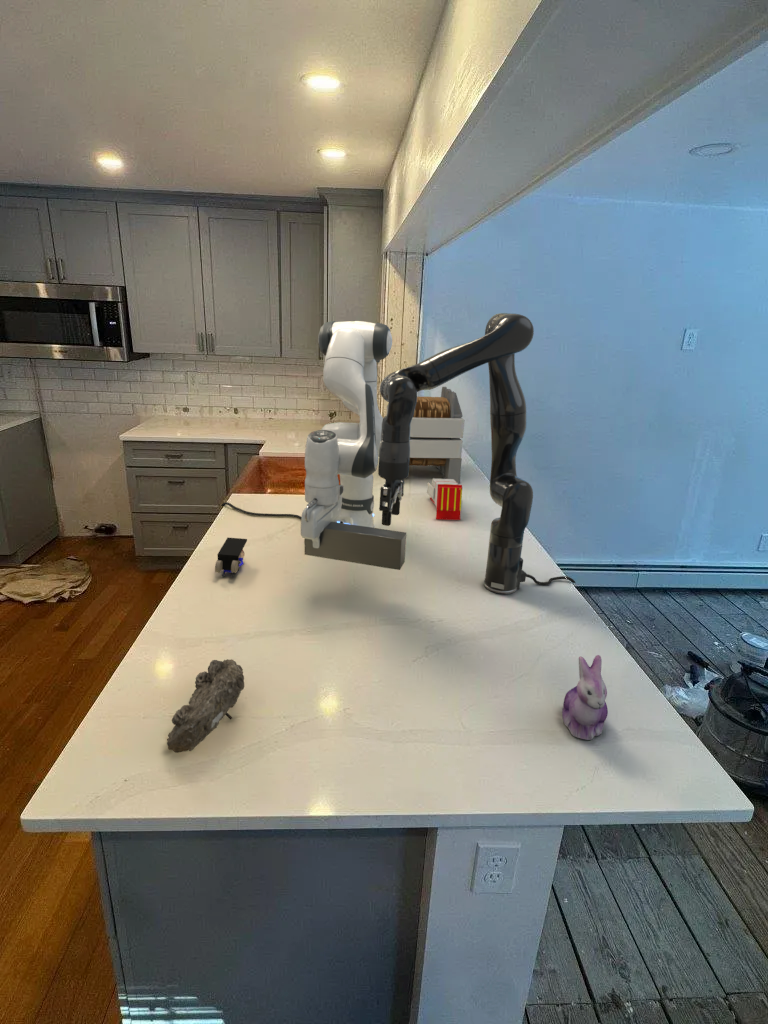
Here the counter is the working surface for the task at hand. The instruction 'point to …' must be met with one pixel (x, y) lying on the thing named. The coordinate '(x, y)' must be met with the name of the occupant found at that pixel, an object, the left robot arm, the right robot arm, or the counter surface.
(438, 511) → the toy
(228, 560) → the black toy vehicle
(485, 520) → the counter surface
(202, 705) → the fossil
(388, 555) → the bar
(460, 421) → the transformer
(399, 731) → the counter surface
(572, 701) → the figurine
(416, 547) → the counter surface
